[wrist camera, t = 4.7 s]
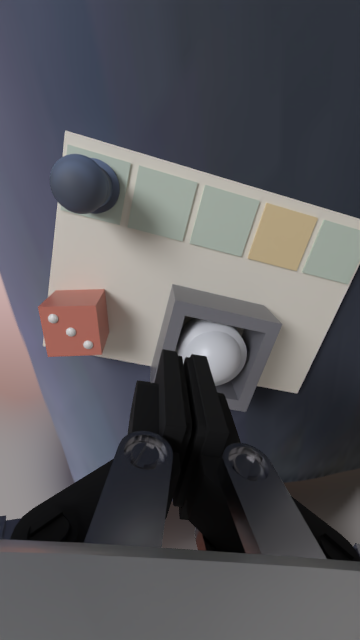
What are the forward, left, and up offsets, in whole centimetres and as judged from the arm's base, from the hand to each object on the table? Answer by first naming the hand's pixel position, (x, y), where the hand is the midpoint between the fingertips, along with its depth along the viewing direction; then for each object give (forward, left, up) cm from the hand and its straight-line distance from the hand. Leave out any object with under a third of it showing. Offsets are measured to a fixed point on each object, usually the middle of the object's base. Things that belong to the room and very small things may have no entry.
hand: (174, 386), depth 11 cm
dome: (+4, +5, -14) cm, 16 cm away
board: (0, +3, -16) cm, 16 cm away
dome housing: (+4, +5, -16) cm, 17 cm away
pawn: (-6, -7, -15) cm, 17 cm away
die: (+4, -6, -15) cm, 17 cm away
